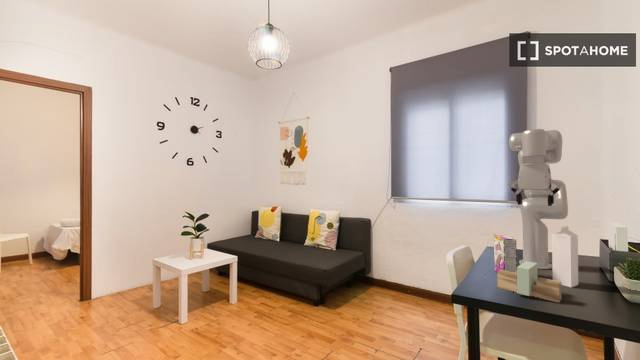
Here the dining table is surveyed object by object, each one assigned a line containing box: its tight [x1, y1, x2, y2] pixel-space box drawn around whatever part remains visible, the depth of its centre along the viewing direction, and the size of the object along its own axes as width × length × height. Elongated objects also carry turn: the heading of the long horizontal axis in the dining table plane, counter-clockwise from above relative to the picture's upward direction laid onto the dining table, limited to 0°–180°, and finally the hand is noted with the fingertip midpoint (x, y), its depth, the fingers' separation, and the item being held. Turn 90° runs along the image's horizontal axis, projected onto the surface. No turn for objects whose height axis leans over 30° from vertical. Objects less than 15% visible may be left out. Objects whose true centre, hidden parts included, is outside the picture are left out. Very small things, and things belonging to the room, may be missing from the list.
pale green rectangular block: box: [516, 261, 539, 297], centre depth 103 cm, size 11×4×9 cm, turn 131°
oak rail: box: [496, 270, 562, 303], centre depth 103 cm, size 4×18×6 cm, turn 41°
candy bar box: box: [493, 233, 518, 273], centre depth 123 cm, size 11×5×16 cm, turn 168°
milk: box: [551, 225, 579, 288], centre depth 112 cm, size 6×6×22 cm
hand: (534, 205), depth 114 cm, fingers open, 9 cm apart
